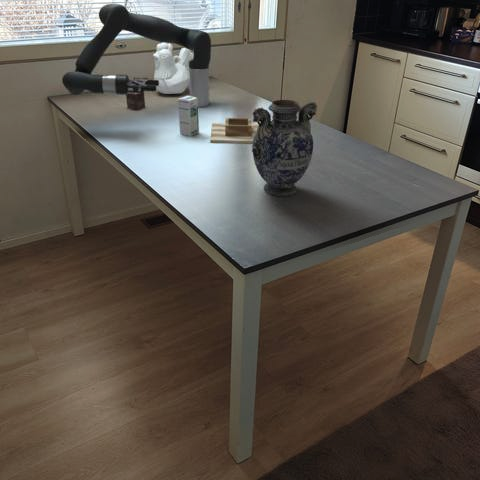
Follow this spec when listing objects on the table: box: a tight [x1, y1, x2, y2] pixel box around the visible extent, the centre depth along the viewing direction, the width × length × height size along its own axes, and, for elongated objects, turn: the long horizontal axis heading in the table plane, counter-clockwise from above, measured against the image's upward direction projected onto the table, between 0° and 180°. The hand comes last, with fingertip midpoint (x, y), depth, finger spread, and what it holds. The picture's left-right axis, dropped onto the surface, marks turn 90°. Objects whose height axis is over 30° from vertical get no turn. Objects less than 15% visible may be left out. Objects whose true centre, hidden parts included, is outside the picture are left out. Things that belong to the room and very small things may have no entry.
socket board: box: [209, 117, 259, 144], centre depth 215 cm, size 22×22×5 cm
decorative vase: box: [251, 99, 318, 197], centre depth 163 cm, size 21×19×28 cm
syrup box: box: [177, 95, 200, 137], centre depth 212 cm, size 6×6×14 cm
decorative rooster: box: [152, 42, 194, 95], centre depth 264 cm, size 25×16×25 cm, turn 116°
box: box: [125, 92, 146, 111], centre depth 244 cm, size 6×6×7 cm
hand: (157, 85), depth 207 cm, fingers open, 8 cm apart
